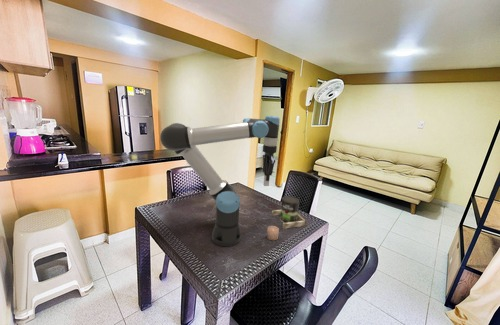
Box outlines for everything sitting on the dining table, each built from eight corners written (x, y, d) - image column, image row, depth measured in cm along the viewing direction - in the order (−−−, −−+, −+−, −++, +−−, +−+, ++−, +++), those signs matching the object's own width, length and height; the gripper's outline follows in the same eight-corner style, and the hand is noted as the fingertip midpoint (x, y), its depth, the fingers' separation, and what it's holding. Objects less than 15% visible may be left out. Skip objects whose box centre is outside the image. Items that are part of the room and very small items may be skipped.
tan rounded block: (269, 241, 108) (270, 232, 107) (265, 234, 114) (265, 226, 112) (279, 239, 110) (280, 231, 109) (275, 233, 116) (275, 225, 114)
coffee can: (293, 226, 123) (296, 204, 120) (277, 221, 128) (279, 199, 124) (298, 219, 132) (301, 198, 128) (283, 214, 137) (285, 194, 133)
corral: (283, 228, 120) (283, 224, 119) (271, 214, 135) (272, 210, 134) (305, 225, 125) (306, 221, 124) (292, 212, 140) (292, 208, 139)
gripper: (281, 147, 109) (276, 189, 115) (271, 143, 121) (267, 181, 127) (268, 147, 106) (263, 190, 112) (259, 142, 118) (256, 181, 124)
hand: (266, 185), depth 120 cm, fingers closed
